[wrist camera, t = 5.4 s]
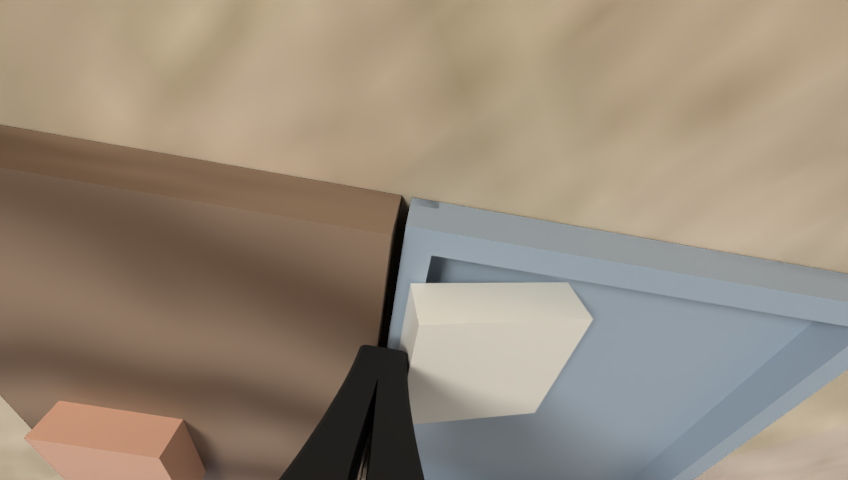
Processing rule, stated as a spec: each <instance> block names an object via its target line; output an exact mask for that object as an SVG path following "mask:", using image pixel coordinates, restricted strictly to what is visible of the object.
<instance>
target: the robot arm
mask: <svg viewBox="0 0 848 480" xmlns="http://www.w3.org/2000/svg"><path fill="white" fill-rule="evenodd" d="M407 356H408V354H407V353H406V352H405V351H402V350H396V349H390V348H384V347H377V346H371V345H365V344H364V345H362V346H360V348H359V351H358V353H357V356H356V358H355V360H354V362H353V365H352V367H351V369H350V371H349V373H348V375H347V377H346V378H345V380H344V382H343V384H342V386H341V388H340V389H339V391H338V393H337V394H336V396H335V398H334V399H333V401H332V403H331V404H330V406H329V408H328V409H327V411H326V413H325V414H324V416H323V417H322V419H321V421H320V422H319V424H318V425H317V427H316V428H315V429H314V431H313V432H312V434H311V435H310V437H309V438H308V440H307V441H306V443H305V444H304V446H303V447H302V449H301V450H300V451H299V453H298V454H297V456H296V457H295V458H294V460H293V461H292V463H291V464H290V465H289V467H288V468H287V469H286V471H285V472H284V473H283V475H282V476H281V477H280V478H279V480H357V478H358V474H359V470H360V467H361V463H362V459H363V456H364V452H365V448H366V445H367V441H368V437H369V434H370V430H371V434H370V444H369V453H368V463H367V473H366V480H425V479H424V475H423V470H422V466H421V461H420V457H419V452H418V448H417V443H416V438H415V432H414V426H413V420H412V414H411V407H410V400H409V390H408V378H407Z"/></svg>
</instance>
